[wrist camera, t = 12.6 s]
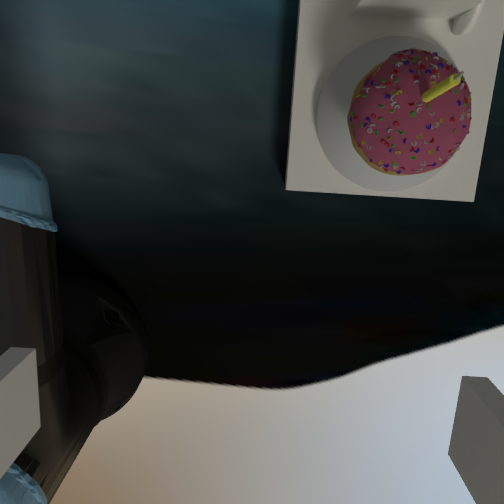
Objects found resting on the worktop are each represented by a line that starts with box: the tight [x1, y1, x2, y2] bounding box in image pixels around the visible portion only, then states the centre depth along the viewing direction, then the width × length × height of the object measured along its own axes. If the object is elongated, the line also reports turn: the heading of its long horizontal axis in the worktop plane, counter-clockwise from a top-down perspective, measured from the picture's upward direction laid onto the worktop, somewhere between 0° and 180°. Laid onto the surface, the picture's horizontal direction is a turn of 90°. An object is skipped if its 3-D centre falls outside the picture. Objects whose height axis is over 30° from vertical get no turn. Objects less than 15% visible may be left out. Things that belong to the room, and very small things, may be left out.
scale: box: [285, 0, 504, 202], centre depth 37 cm, size 16×18×8 cm
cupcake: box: [347, 47, 472, 176], centre depth 32 cm, size 9×8×12 cm
